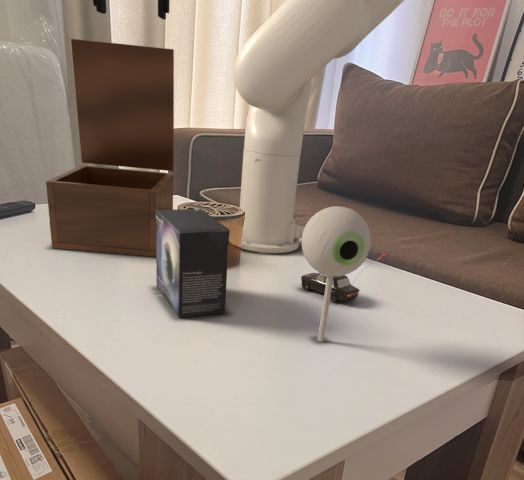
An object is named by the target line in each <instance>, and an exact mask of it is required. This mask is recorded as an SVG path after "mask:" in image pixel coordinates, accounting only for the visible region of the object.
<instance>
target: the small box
mask: <svg viewBox="0 0 524 480" xmlns="http://www.w3.org/2000/svg"><path fill="white" fill-rule="evenodd" d="M155 212H156V257H155V262H156V266H155V267H156V269H155V270H156V288H157V290H158V291H159V293H160V294H161V295H162V297H163V298H164V299H165V301H166V302H167V303H168V305H169V306H170V308H171V309H172V310H173V312H174V313H175V315H176V316H177V318H189V317H200V316H210V315H211V316H212V315H218V314H225V313H226V312H227V281H228V259H229V258H228V256H229V243H230V242H229V237H230V233H231V229H229V228H228V227H227V226H226V225H224V224H222V223H221V222H220V221H218V220H217V219H216V218H214V217H213V216H212V215H210V214H209V213H207V212H206V211H205V210H203V209H202V208H183V209H182V208H181V209H180V208H179V209H173V210H156V211H155Z"/></svg>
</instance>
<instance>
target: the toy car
mask: <svg viewBox="0 0 524 480" xmlns="http://www.w3.org/2000/svg"><path fill="white" fill-rule="evenodd" d="M386 256H387V253H385V254H382V255H381V256H380V257H379V258H377V259H376V260H374V261H373V262H372V264H373V263H375V262H376V261H378V260H379V259H381V258H382V259H383V258H385V257H386ZM370 266H371V264H369V265H368V266H366V267H365V268H364V270H366V269H367V268H368V267H370ZM361 273H362V271H360V272H359V274H361ZM357 277H358V276H356V277H355V279H357ZM300 281H301V284H300V285H301V288H302V289H303V291H309V290H310V289H312V290H314V291H316V292H319V293H322V294H323V295H324V294H325V288H326V281H327V275H325V274H322V273H320V272H311V273H306V274H303V275H301V276H300ZM354 283H355V281H353V282H352V283H351V281H350V279H349V277H348V276H347V274H346V275H343V276H334V277H333V283H332V290H331V296H330V302H332V303H336V302H337V303H338V301H341V302H348V301H351V300H355V299H357V298H358V296H359V294H360V288H358V287H356V286H354V285H353V284H354Z"/></svg>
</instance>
